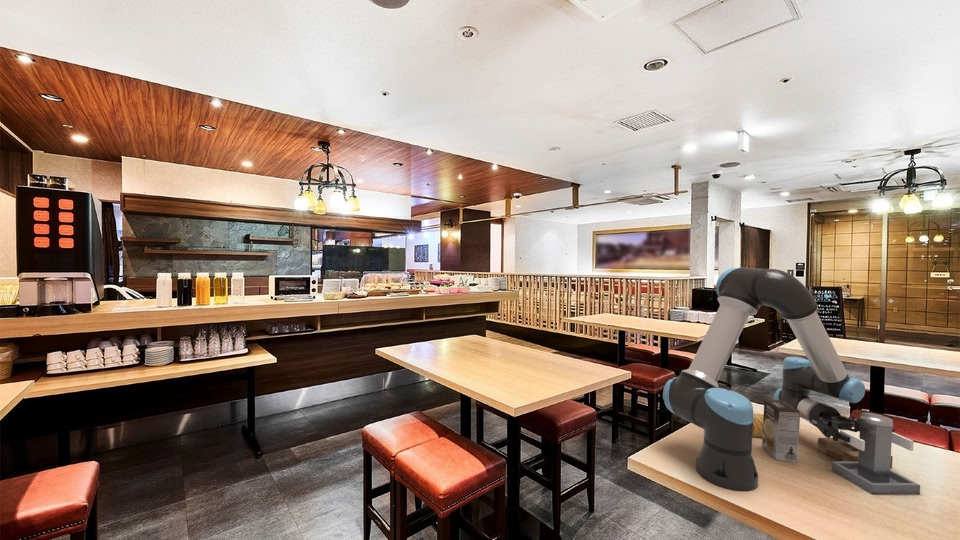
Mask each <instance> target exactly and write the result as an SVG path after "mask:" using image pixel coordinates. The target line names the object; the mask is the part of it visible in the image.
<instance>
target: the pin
mask: <svg viewBox="0 0 960 540" xmlns="http://www.w3.org/2000/svg"><path fill="white" fill-rule="evenodd" d="M859 419H860V432H859V437H858V438H860V439H862V440H864V441H865V451H861V450H859V454H858V473H857V474H858V475H860V476H862V477H863V478H865V479H867V480H869V481H870V482H872V483H889V480H890V470H891V468H890V462H891V456H892V428H893V427H894V426H893V425H894V420H893V419H892V418H890V417H888V416H884V415H881V414H878V413H872V412H861V413H860V418H859ZM893 429H894V428H893Z"/></svg>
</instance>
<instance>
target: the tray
mask: <svg viewBox="0 0 960 540" xmlns="http://www.w3.org/2000/svg"><path fill="white" fill-rule="evenodd" d="M830 464H831V465H830V466H831V468H830V470H831V471H833V472H834V473H835V474H837V475H839V476H841V477H843V478H845V479H846V480H848V481H849V482H851V483H852V484H854V485H856V486H858V487H859V488H860V489H863V490H864V491H865V492H867V493H869V494H871V495H920V494H921V484H919V483H917V482H915V481H913V480H911V479H909V478H908V477H905V476H904V475H901V474H900V473H898V472H896V471H894V470H892V469H890V480H889V483H872V482H870V481H869V480H867V479H865V478H863V477H862V476H860V475H858V474H857V473H858V461H840V460H838V461H834V460H833V461H832V460H831V463H830Z"/></svg>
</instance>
